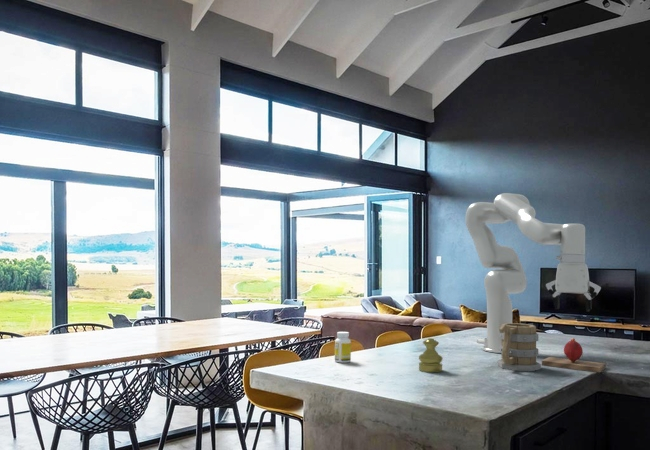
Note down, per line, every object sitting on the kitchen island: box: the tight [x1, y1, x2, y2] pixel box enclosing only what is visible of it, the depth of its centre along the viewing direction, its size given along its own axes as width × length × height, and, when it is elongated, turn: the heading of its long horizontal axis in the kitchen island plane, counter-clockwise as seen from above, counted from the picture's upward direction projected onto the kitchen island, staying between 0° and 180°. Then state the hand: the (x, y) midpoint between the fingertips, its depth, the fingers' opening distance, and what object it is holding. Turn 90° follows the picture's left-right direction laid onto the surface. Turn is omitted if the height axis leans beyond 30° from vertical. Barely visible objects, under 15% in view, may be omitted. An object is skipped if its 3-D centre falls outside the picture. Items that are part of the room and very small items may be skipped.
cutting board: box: [541, 356, 607, 373], centre depth 187 cm, size 18×10×2 cm, turn 54°
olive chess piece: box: [418, 337, 443, 374], centre depth 175 cm, size 7×7×10 cm
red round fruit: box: [563, 337, 584, 362], centre depth 187 cm, size 6×6×8 cm
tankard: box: [496, 322, 542, 372], centre depth 181 cm, size 20×13×15 cm, turn 135°
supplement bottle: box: [334, 331, 352, 364], centre depth 187 cm, size 5×5×10 cm
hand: (572, 310), depth 188 cm, fingers open, 9 cm apart
